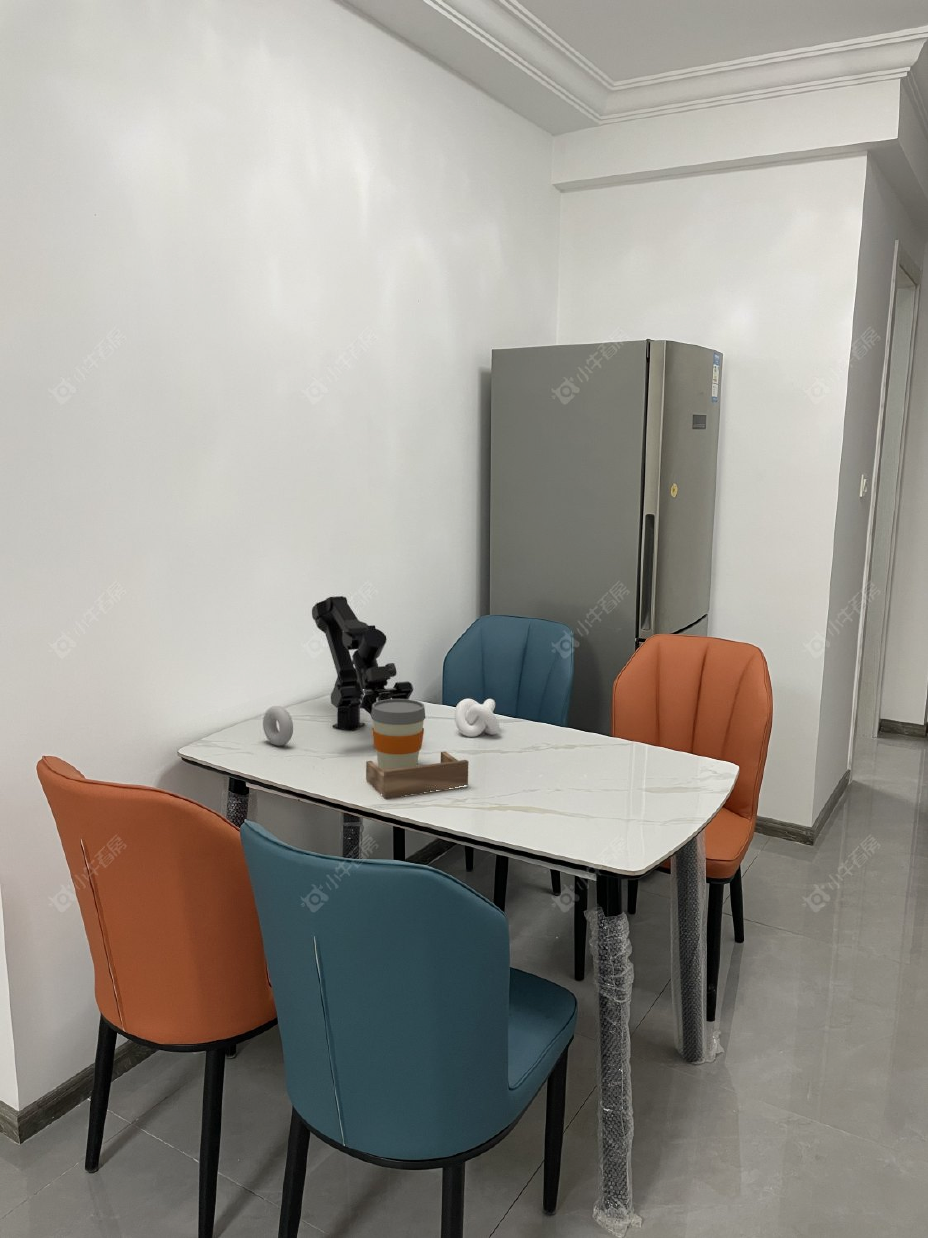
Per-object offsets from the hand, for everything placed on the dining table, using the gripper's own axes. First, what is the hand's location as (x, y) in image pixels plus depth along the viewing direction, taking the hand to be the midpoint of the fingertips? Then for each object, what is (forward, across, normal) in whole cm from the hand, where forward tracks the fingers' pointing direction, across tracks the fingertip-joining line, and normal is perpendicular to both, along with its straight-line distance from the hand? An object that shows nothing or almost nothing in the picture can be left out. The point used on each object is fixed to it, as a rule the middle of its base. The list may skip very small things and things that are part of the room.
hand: (382, 724), depth 227 cm
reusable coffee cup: (+13, 0, -2) cm, 13 cm away
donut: (-6, -22, +17) cm, 28 cm away
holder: (+21, 0, -10) cm, 23 cm away
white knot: (0, +29, +11) cm, 31 cm away
